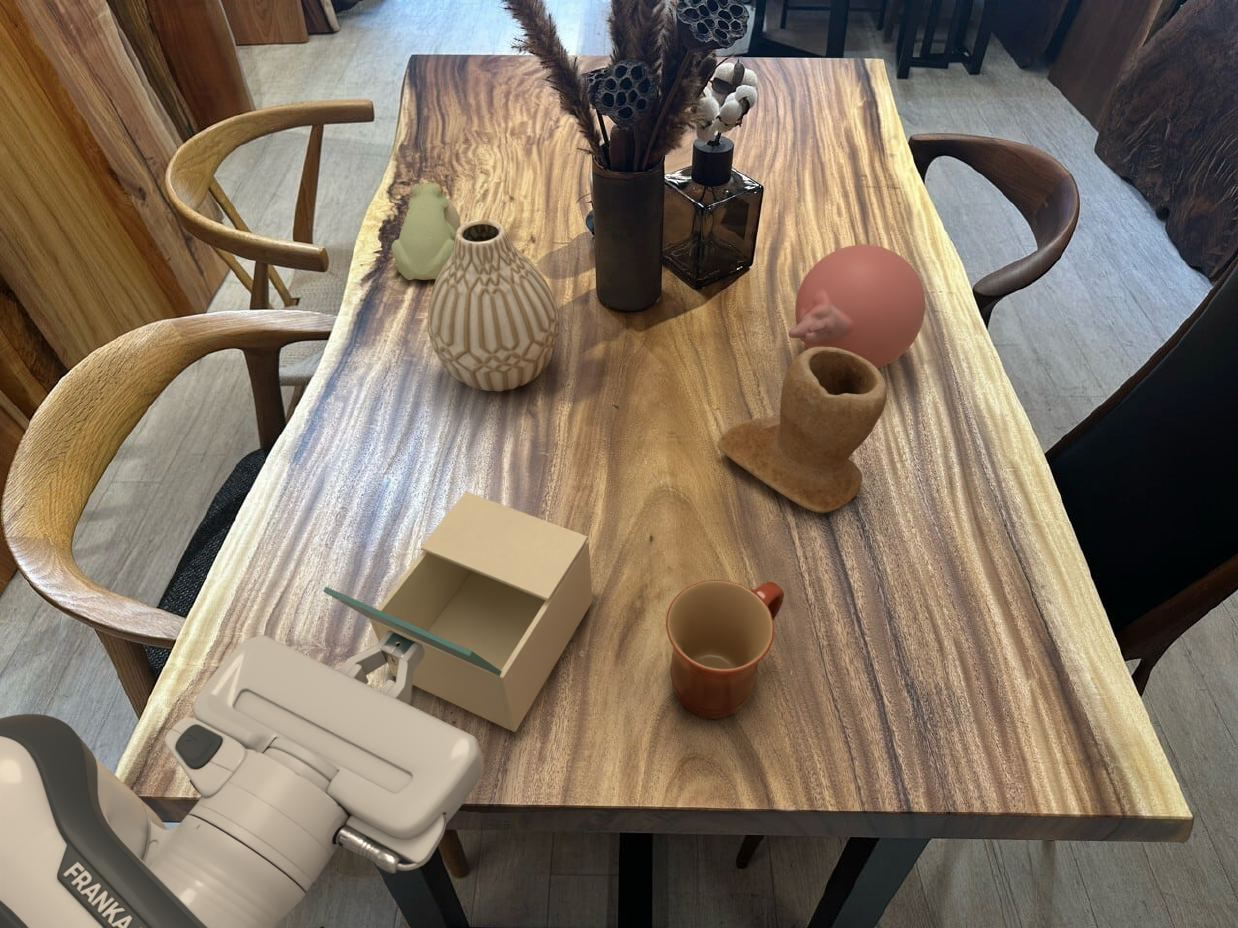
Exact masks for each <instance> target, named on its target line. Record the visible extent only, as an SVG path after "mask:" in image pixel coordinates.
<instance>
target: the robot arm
mask: <svg viewBox="0 0 1238 928" xmlns="http://www.w3.org/2000/svg"><path fill="white" fill-rule="evenodd" d="M424 654H425V652H424V649H423V646H422V645H421V644H419V643H417V642H414V641H412V640H410V639H407V638H406V637H404V636H401V635H399V634H397V633H395V632H393V631H390V630H389V631H387V632H386V633H385V635H384V636H383V637H382V638H381V640H380V641H378V642H377V643H376V644H375V646H372V647H369V648H367V649H365V650H363V651H361V652H359V653H357V654H355V655H352V656H350V657H348V658H347V659H346V660H345V661H344V662H343V664H341V666H340V667H339V668H338V669H336V668H335V667H332V666H330V665H327V664H326V663H324V662H321V661H319V660H317V659H315V658H314V657H311V656H310V655H309V656H308V655H307V654H306V653H302V652H301V651H298V650H297V649H295V648H292V647H291V646H288V645H286V644H284V643H282V642H280V641H278V640H276V639H274V638H272V637H269V636H268V635H266V634H259V635H256V636H252V637H250V638H248V639H245V640H243V641H242V642H240V644H239V645H237V646H236V647H235V649H234V650H233V651H231V653H230V654H229V655H228V656H227V657H226V658H225V659H224V661H223V662H222V663H221V664H220V665H219V666H218V667H217V669H216V670H215V671H214V672H213V674H212V675H211V676H210V677H209V679H208V680H207V681H206V683H205V684H204V685H203V687H202V688H201V689H200V691H199V692H198V694H197V696H196V698H195V700H194V703H193V708H192V709H193V710H192V711H193V712H192V713H193V716H194V717H190V716H186V717H183V718H181V719H180V720H178V721H177V722H176V723H175V724H174V725H173V726H172V727H171V729H169V730H168V732H167V733H166V734H165V736H164V744H165V746H166V748H167V749H168V751H169V752H170V754H171V755H172V756H173V758H174V759H175V760H176V762H177V763H178V765H179V766H180V768H181V769H182V770H183V771H184V773H185V775H186V776H187V777H188V779H189V783H190V784H191V786H192V788H194V790H195V791H196V792H197V793H198V794H199V795H200V797H199V800H198V801H197V803H196V804H195V805H194V806H193V807H192V808H191V810H190V811H189V812H188V814H186V816H185V817H184V818H183V819H182V820H181V822H180V823H178V825H176V826H175V827H173V828H169V829H168V828H167V827H166V825H165V823H164V822H163V821H162V819H161V817H159V815H158V814H157V813H156V812H155V811H154V810H153V809H152V808H151V807H150V806H149V805H148V804H147V803H146V802H145V801H143V800H142V799H141V798H140V797H139V796H138V795H137V794H136V793H135V792H134V791H133V790H132V789H130V787H128V786H127V785H126V784H125V783H124V782H123V781H122V780H121V779H120V778H119V777H118V776H116V775H115V773H113V772H112V771H111V770H110V769H109V768H108V767H107V766H105V764H104V763H102V762H101V761H100V760H99V759H98V758H97V757H96V756H95V754H94V753H93V752H92V750H91V749H90V748H89V746H88V745H87V744H86V743H85V742H84V741H83V739H82V738H81V737H80V736H79V734H78V733H77V732H76V731H75V730H74V729H73V727H71V726H70V725H69V724H68V723H66V722H64V721H63V720H61V719H59V718H57V717H54V716H50V715H46V714H41V713H22V714H14V715H9V716H4V717H0V928H276V927H277V926H278V925H279V923H281V921H282V920H283V919H284V918H285V917H286V916H287V915H288V914H289V913H290V912H291V911H292V910H294V909H295V908H296V907H297V906H298V905H299V904H300V903H301V902H302V900H303V899H304V898H305V897H306V895H307V893H308V892H309V890H310V889H311V888H312V887H313V886H312V885H314V884H315V882H316V880H317V879H318V878H319V877H320V875H321V874H322V872H323V870H324V869H325V867H326V866H327V864H328V863H329V862H330V860H331V858H332V857H333V856H334V854H335V853H336V851H337V849H338V848H339V847H341V848H343V849H345V850H347V851H348V852H351V853H353V854H354V855H356V856H359V857H362V858H363V859H367V860H368V861H370V862H372V863H373V864H374V865H375V866H376V867H377V868H379V869H380V870H382V871H384V872H386V873H390V874H396V873H397V872H398V871H401V872H408V871H413V870H417V869H419V868H421V867H422V866H425V864H426V863H428V861H430V859H431V858H432V856H433V855H434V853H435V851H436V850H437V848H438V846H439V845H440V843H441V842H442V840H443V838H444V837H445V834H446V831H447V824H448V823H449V822H450V820H451V819H453V817H454V815H455V814H456V813H457V812H458V811H459V810H460V808H461V807H462V805H463V804H464V803H465V801H467V799H468V797H469V796H470V795H471V793H472V792H473V790H474V789H475V787H476V786H477V785H478V783H479V781H480V780H481V778H482V776H483V774H484V771H485V761H484V755H483V752H482V748H481V745H480V742H479V741H478V739H477V738H476V737H475V736H474V735H472V734H471V733H468V732H467V731H464V730H462V729H460V728H459V727H456V726H454V725H452V724H450V723H448V722H446V721H443V720H441V719H439V718H437V717H435V716H433V715H431V714H429V713H427V712H425V711H423V710H421V709H419V708H417V707H415V706H412V705H410V704H409V703H410V702H411V699H412V691H413V685H412V681H413V674H412V673H413V672H414V670H415V669H416V668H417V666H418V665H419V663H420V662H421V661H422V659H423V657H424ZM388 663H389V664H392V665H394V666H396V667H398V671H397V677H395V681H394V680H392V679H387V680H386V682H385V683H384V684H383V686H382V687H381V688H380V689H377V688H375V687H373V686H371V685H369V684H368V683H369V679H368V677H367V675H369V674H371V673H373V672H374V671H376V670H378V669H380V668H381V667H383V666H385V665H387V664H388ZM403 859H404V860H405V861H407V862H408V863H405V862H403Z"/></svg>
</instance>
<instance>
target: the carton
mask: <svg viewBox="0 0 1238 928" xmlns="http://www.w3.org/2000/svg"><path fill="white" fill-rule="evenodd" d="M588 540H589V537H588V536H587V535H585V534H582V533H579V532H577V531H574V530H572V529H569V528H566V527H563V526H560V525H558V524H555V523H552V522H549V521H547V520H545V519H542V518H540V517H537V516H533V515H531V514H528V513H525V512H523V511H521V510H517V509H515V508H512V507H509V506H507V505H504V504H501V503H500V502H499V503H498V502H495V501H493V500H491V499H488V498H485V497H483V496H480V495H477V494H475V493H472V492H469V491H464V493H463V494H462V495H461V496H460V498H459V499H458V500H457V502H455V504H454V505H453V506H452V507H451V509H450V510H449V511H448V512H447V514H446V515H445V516H444V517H443V519H442V520H441V521H440V522H439V524H438V525H437V526H436V527H435V529H434V530H433V531H432V532H431V533H430V535H429V536H428V537H427V538H426V540H425V541H424V542H423V543H422V545H421V546H420V550H421V551H422V552H421V553H420V554H419V555H418V556H417V557H416V559H415V560H414V562H413V563H412V564H411V566H410V567H409V568H407V570H406V571H405V573H404V574H403V575H402V577H401V578H400V579H399V580H398V581H397V583H396V584H395V585H394V587H393V588H392V589H391V590H390V591H389V593H388V594H387V595H386V597H384V599H383V600H382V601H381V603H380V604H379V605H378V606H377V607H376V609H378V610H380V611H382V612H385V613H387V614H389V615H391V616H394V617H396V618H398V619H400V620H403V621H405V622H407V623H410V624H412V625H414V626H416V627H419V628H421V629H423V630H425V631H428V632H430V633H432V634H435V635H437V636H439V637H441V638H444V639H446V640H448V641H450V642H453V643H455V644H457V645H460V646H462V647H464V648H466V649H469V650H471V651H473V652H474V653H476V654H477V655H479V656H480V657H481V658H483V659H484V660H486V661H487V662H489V663H490V664H492V665H493V666H495V667H496V668H497V669H499V670H500V671H502V673H501V675H500V676H498V675H496V674H493V673H491V672H489V671H487V670H484V669H482V668H480V667H478V666H475V665H473V664H471V663H469V662H466V661H464V660H462V659H460V658H457V657H455V656H453V655H451V654H448V653H446V652H444V651H442V650H440V649H437V648H435V647H433V646H431V645H428V644H426V643H424V642H422V641H419V640H417V639H415V638H413V637H410V636H408V635H406V634H404V633H401V632H399V631H397V630H395V629H392V628H390V627H388V626H386V625H383V624H381V623H379V622H377V621H374V620H372V619H370V618H368V620H369V623H370V625H371V627H372V629H373V631H374V634H375V636H376V639H377V641H378V642H379V641H380V640H381V638H382V637H383V636H384V635H385V633H386V632H387V631H389V630H390V631H393V632H395V633H397V634H399V635H401V636H404V637H406V638H407V639H410V640H412V641H414V642H417V643H419V644H421V645H422V646H423V649H424V652H425V654H424V657H423V659H422V661H421V662H420V663H419V665H418V666H417V668H416V669H415V670H414V672H413V673H412V674H413V681H412V686H415V687H417V688H419V689H421V690H423V691H426V692H427V693H430V694H431V695H433V696H436V697H438V698H440V699H442V700H445V701H447V702H449V703H451V704H453V705H455V706H457V707H460V708H462V709H464V710H466V711H468V712H470V713H473V714H475V715H477V716H478V717H480V718H483V719H484V720H487V721H490V722H492V723H494V724H496V725H498V726H501V727H502V728H505V729H507V730H509V731H511V732H513V733H516V732H517V731H518V729H519V727H520V725H521V724H522V722H523V720H524V718H525V717H526V716H527V714H528V712H529V710H530V708H531V707H532V705H533V703H534V702H535V700H536V698H537V696H538V695H539V693H540V691H541V690H542V688H543V686H544V685H545V683H546V681H547V679H548V678H549V676H550V674H551V673H552V671H553V669H554V667H555V666H556V664H557V662H558V661H559V659H560V657H561V656H562V654H563V652H564V651H565V649H566V647H567V646H568V644H569V642H570V640H571V639H572V637H573V636H574V634H575V632H576V630H577V628H578V627H579V625H580V623H581V622H582V620H583V618H584V617H585V615H586V614H587V612H588V610H589V608H590V607H591V605H592V603H593V590H592V589H593V588H592V570H591V556H590V555H591V554H590V553H591V552H590V542H589V541H588ZM387 665H388V667H389V670H390V672H391V674H392V676H394V678H397V671H398V667H396V666H394V665H392V664H389V663H387Z"/></svg>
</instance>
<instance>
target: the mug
mask: <svg viewBox="0 0 1238 928" xmlns="http://www.w3.org/2000/svg"><path fill="white" fill-rule="evenodd" d="M784 598H785V591H784V589H783V588H782V587H781V586H779V585H778V584H777V583H775V582H774V581H767V582H764V583H763V584H761V585H760V586H758V587H757V588H754V589H749V587H746V586H745V585H742V584H740V583H739V582H738V583H737V582H734V581H728V580H720V579H711V580H703V581H700V582H696V583H694V584H692V585H689V586H687V587H686V588H684V589H683V590H682V591H680V592H679V593H678V594H677V595H676V596H675V597H674V599H673V600H672V602H671V603H670V605H669V608H668V610H667V612H666V613H667V615H666V619H665V627H666V633H667V637H668V640H669V642H670V644H671V646H672V652H671V661H670V668H669V675H670V680H671V684H672V689H673V691H674V694H675V696H676V698H677V700H678V701H679V702H680V704H681V705H682V706H683V707H684V708H685V709H686V710H687V711H689V712H690V713H692V714H694V715H696V716H698V717H701V718H706V719H713V720H714V719H723V718H727V717H729V716H731V715H732V716H733V714H736V713H737V712H738V711H739V710H741V708H742V707H743V706H744V705H745V704H746V702H747V701H748V699H749V698H750V696H751V695H752V693H753V690H754V688H755V684H756V677H757V673H758V666H759V663H760V662H761V661H762V660H763V659H764V658H765V656H767V654H768V652H769V650H770V649H771V646H772V644H773V641H774V636H775V624H774V621H775V619H776V617H777V616H778V614H779V611H780V610H781V608H782V605H783V602H784Z"/></svg>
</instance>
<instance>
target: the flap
mask: <svg viewBox="0 0 1238 928" xmlns="http://www.w3.org/2000/svg"><path fill="white" fill-rule="evenodd" d="M322 591H323V593H325V594H326V595H328V596H330V597H332V598H333V599H334V600H337V601H338V602H341V604H344V605H345V606H347V607H349V608H350V609H351V610H354V611H355V612H358V613H359V614H361V615H362V616H364V617H366V618H368V619H369V618H370V619H372V620H374V621H377V622H379V623H381V624H383V625H386V626H388V627H390V628H392V629H395V630H397V631H399V632H401V633H404V634H406V635H408V636H410V637H413V638H415V639H417V640H419V641H422V642H424V643H426V644H428V645H431V646H433V647H435V648H437V649H440V650H442V651H444V652H446V653H448V654H451V655H453V656H455V657H457V658H460V659H462V660H464V661H466V662H469V663H471V664H473V665H475V666H478V667H480V668H482V669H484V670H487V671H489V672H491V673H493V674H496V675H498V676H500V675H501V673H502V671H500V670H499V669H497V668H496V667H495V666H493V665H492V664H490V663H489V662H487V661H486V660H484V659H483V658H481V657H480V656H479V655H477V654H476V653H474V652H473V651H471V650H469V649H466V648H464V647H462V646H460V645H457V644H455V643H453V642H450V641H448V640H446V639H444V638H441V637H439V636H437V635H435V634H432V633H430V632H428V631H425V630H423V629H421V628H419V627H416V626H414V625H412V624H410V623H407V622H405V621H403V620H400V619H398V618H396V617H394V616H391V615H389V614H387V613H385V612H382V611H380V610H378V609H377V608H375V607H374V606H371V605H369V604H366V603H365V602H361V601H359V600H357V599H355V598H352V597H351V596H348V595H346V594H344V593H341V592H339V591H337V590H334V589H332V588H330V587H328V586H325V587H324V589H323V590H322Z"/></svg>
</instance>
